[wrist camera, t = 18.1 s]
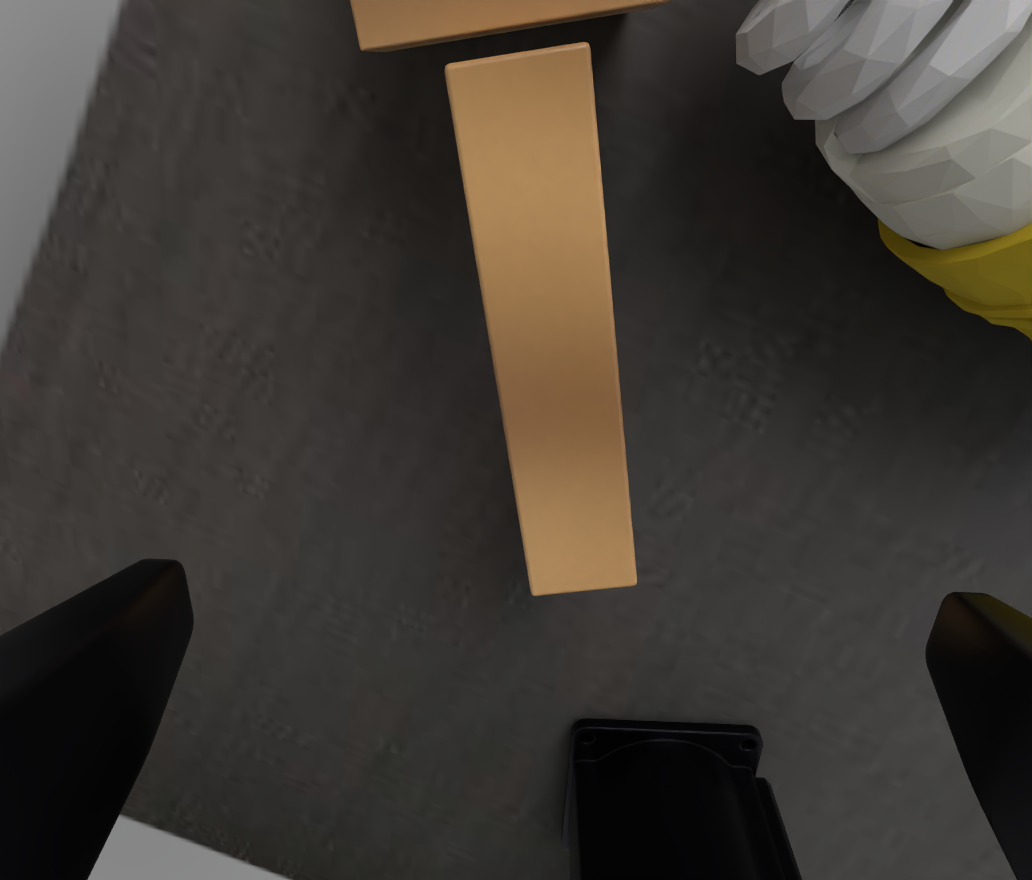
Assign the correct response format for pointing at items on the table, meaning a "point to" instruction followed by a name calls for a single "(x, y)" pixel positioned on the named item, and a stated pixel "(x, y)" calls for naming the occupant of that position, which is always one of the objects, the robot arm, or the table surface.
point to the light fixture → (921, 129)
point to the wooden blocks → (539, 271)
